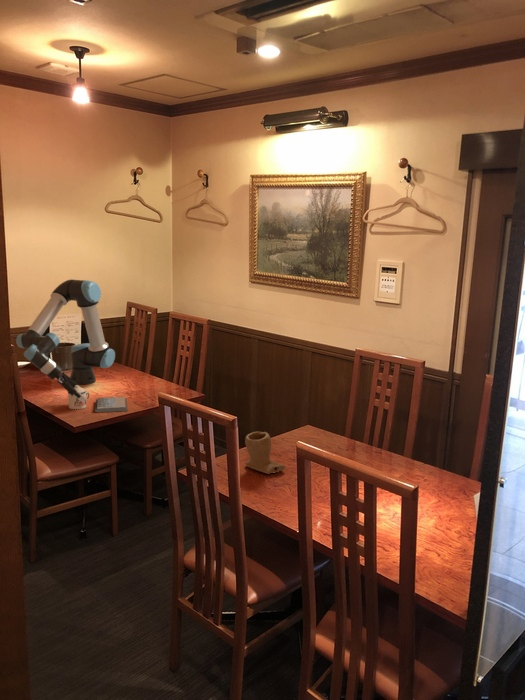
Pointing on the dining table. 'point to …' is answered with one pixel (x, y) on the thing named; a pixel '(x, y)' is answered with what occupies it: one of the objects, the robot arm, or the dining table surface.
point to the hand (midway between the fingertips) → (85, 398)
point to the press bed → (111, 404)
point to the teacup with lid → (75, 402)
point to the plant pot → (63, 355)
